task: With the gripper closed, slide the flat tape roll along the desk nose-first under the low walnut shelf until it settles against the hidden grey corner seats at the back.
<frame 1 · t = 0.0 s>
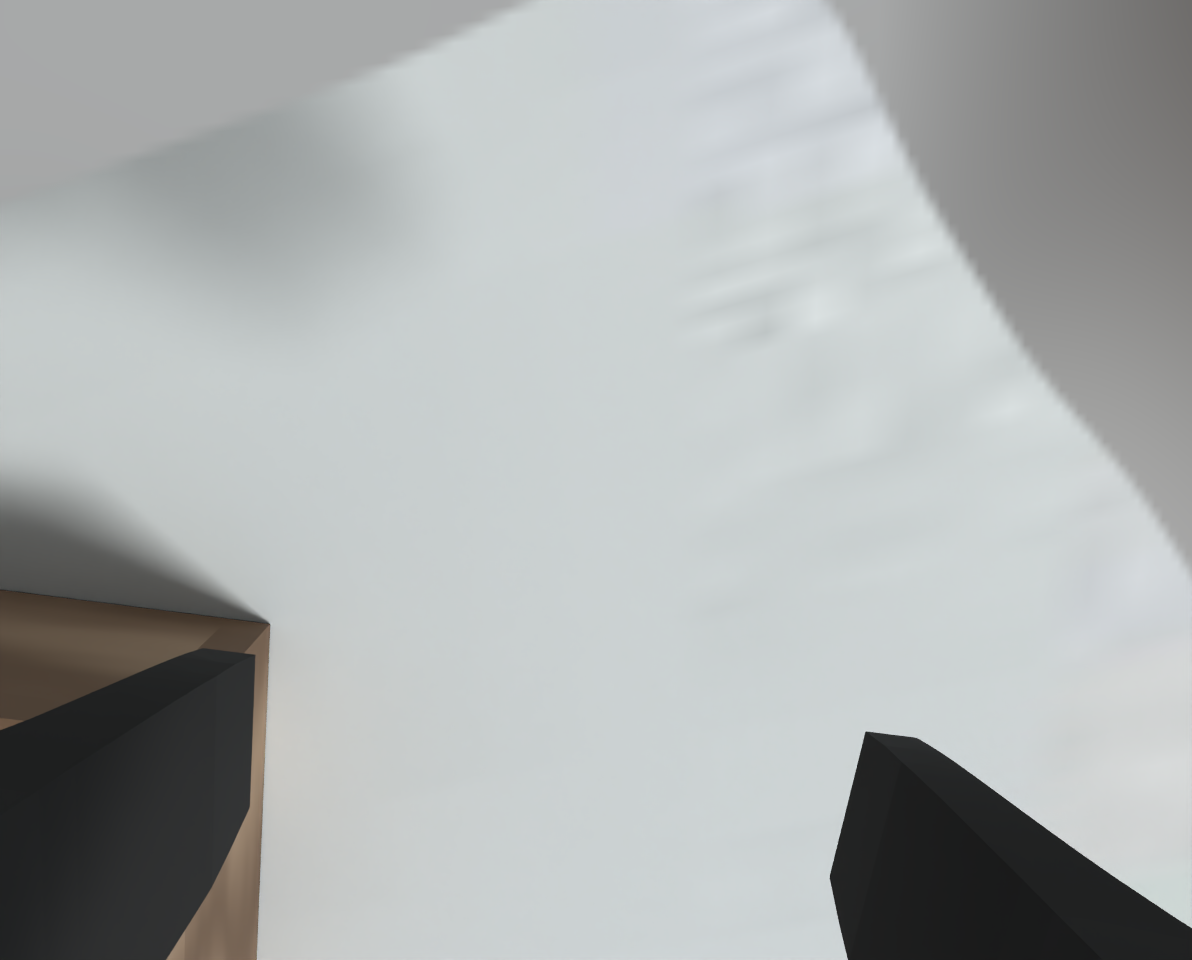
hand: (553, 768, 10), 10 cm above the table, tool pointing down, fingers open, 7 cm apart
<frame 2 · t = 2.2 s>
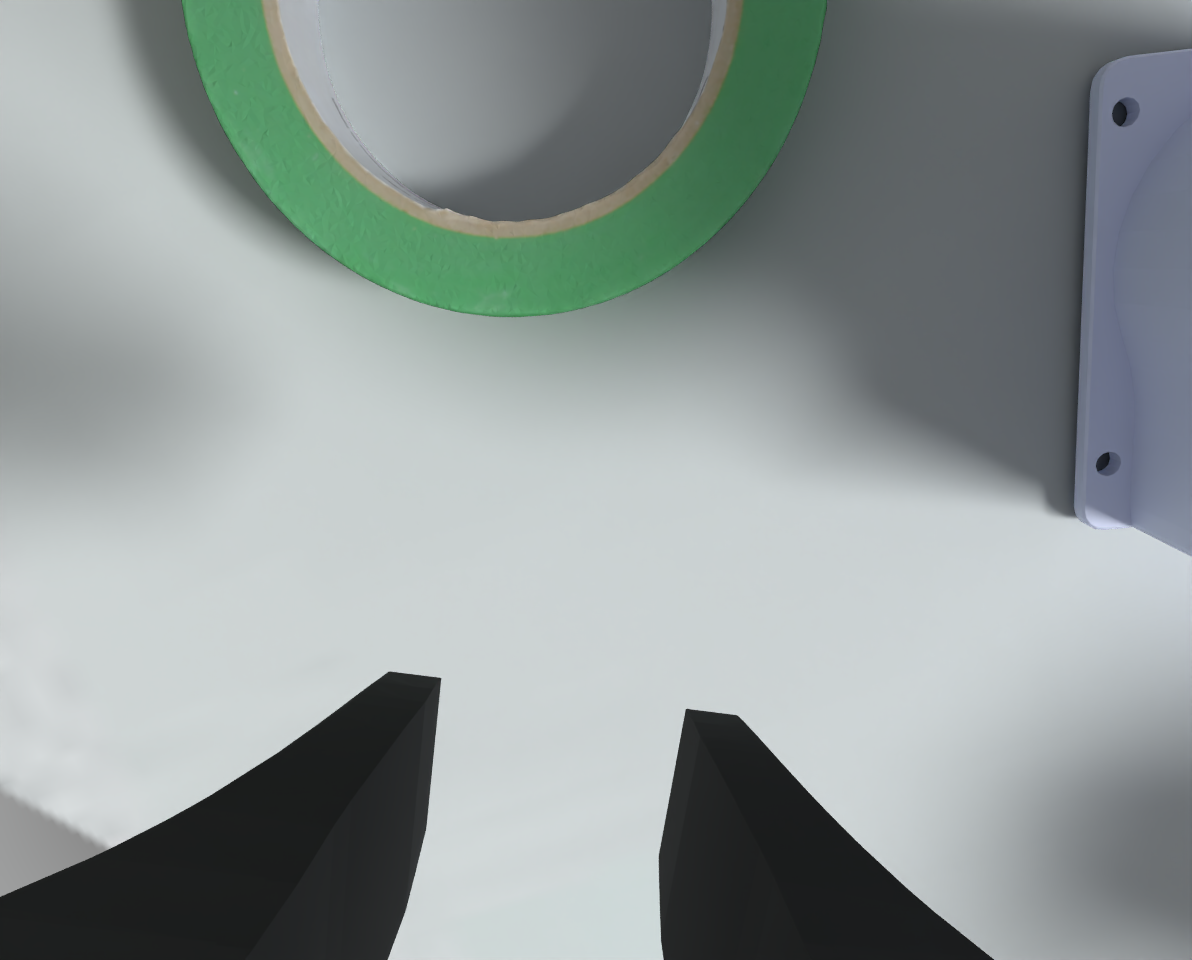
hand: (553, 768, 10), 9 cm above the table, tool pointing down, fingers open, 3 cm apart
tape roll: (517, 28, 17), on the table
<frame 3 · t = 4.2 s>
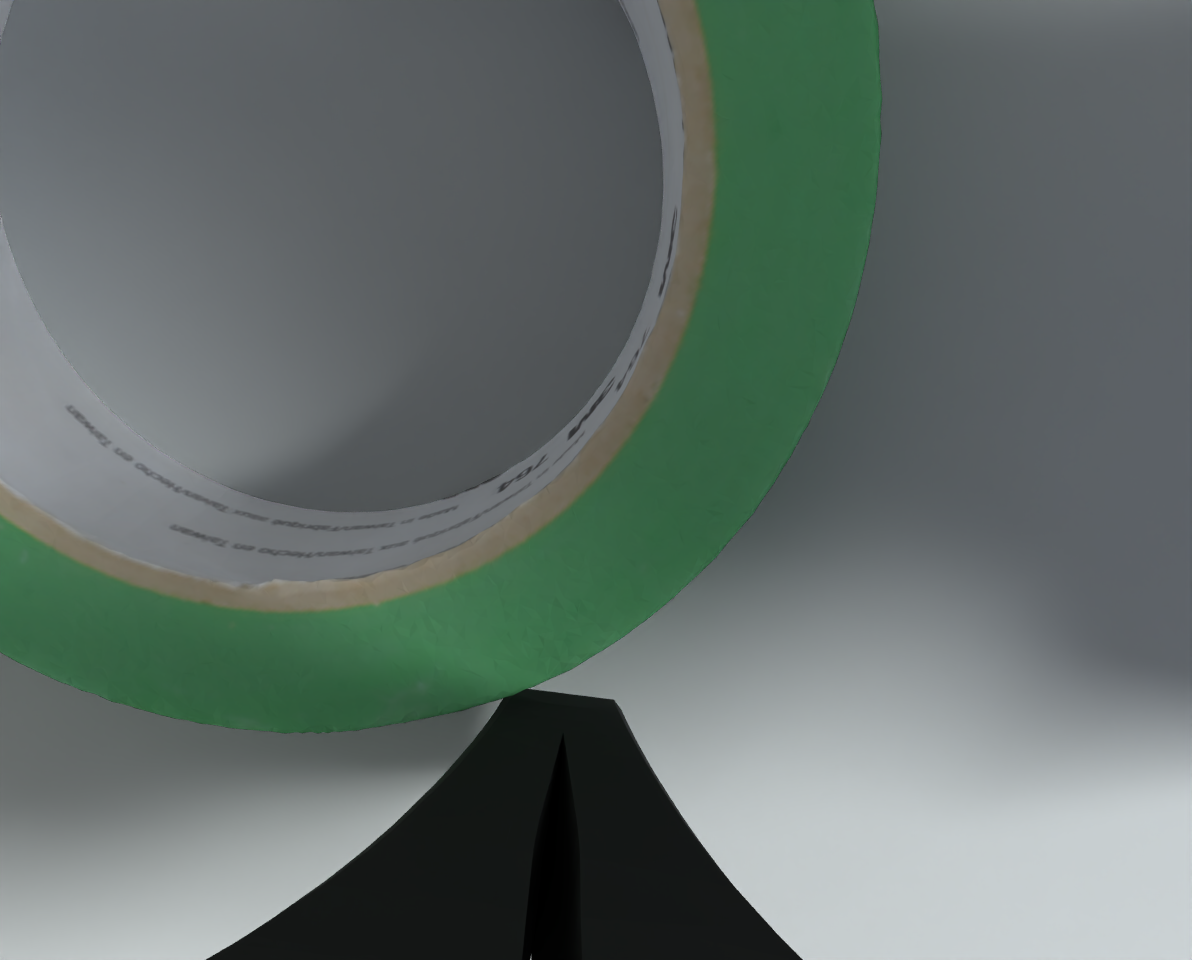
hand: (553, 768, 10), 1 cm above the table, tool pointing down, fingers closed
tape roll: (340, 196, 10), on the table, touching gripper
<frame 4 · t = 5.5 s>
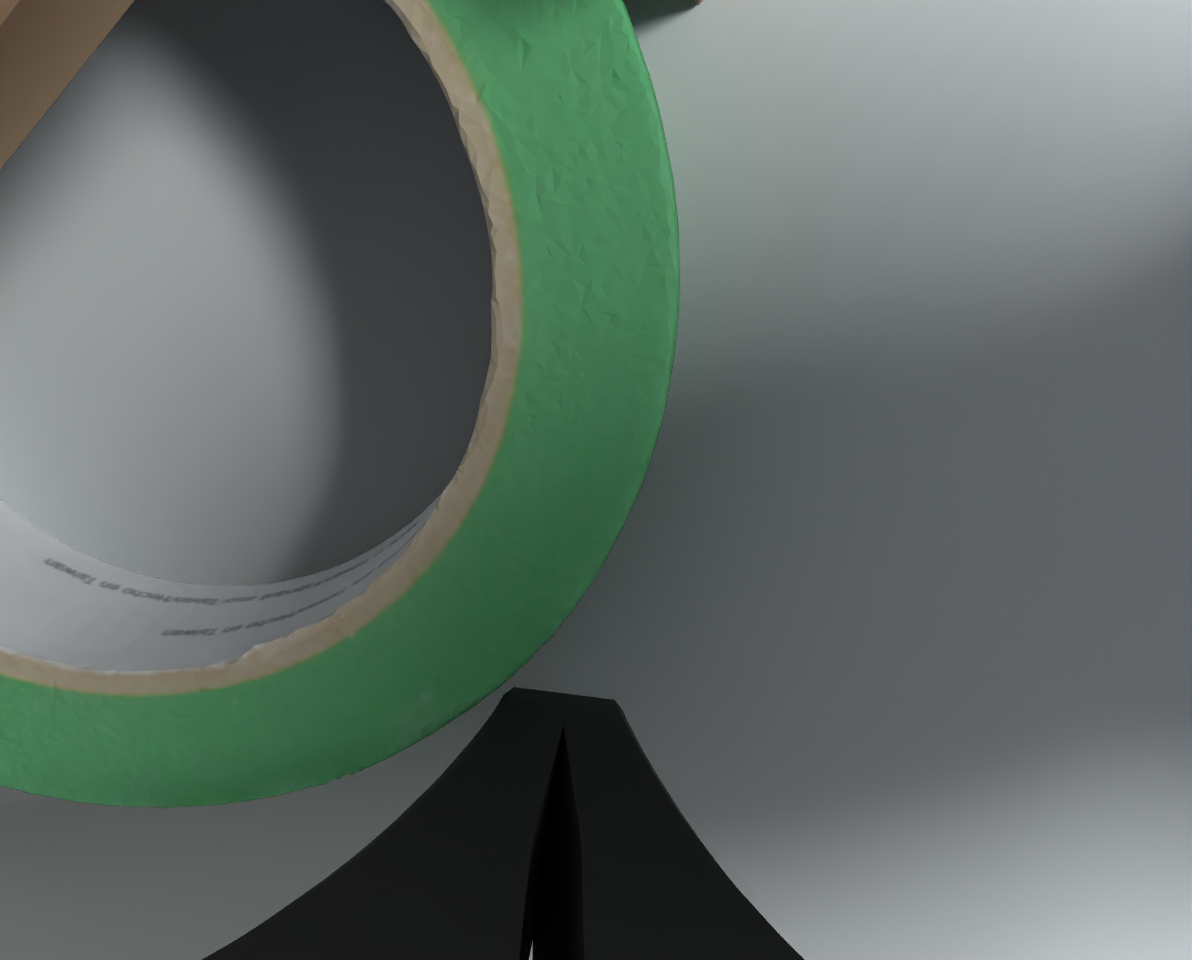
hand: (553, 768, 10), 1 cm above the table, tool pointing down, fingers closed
tape roll: (210, 280, 10), on the table, touching gripper
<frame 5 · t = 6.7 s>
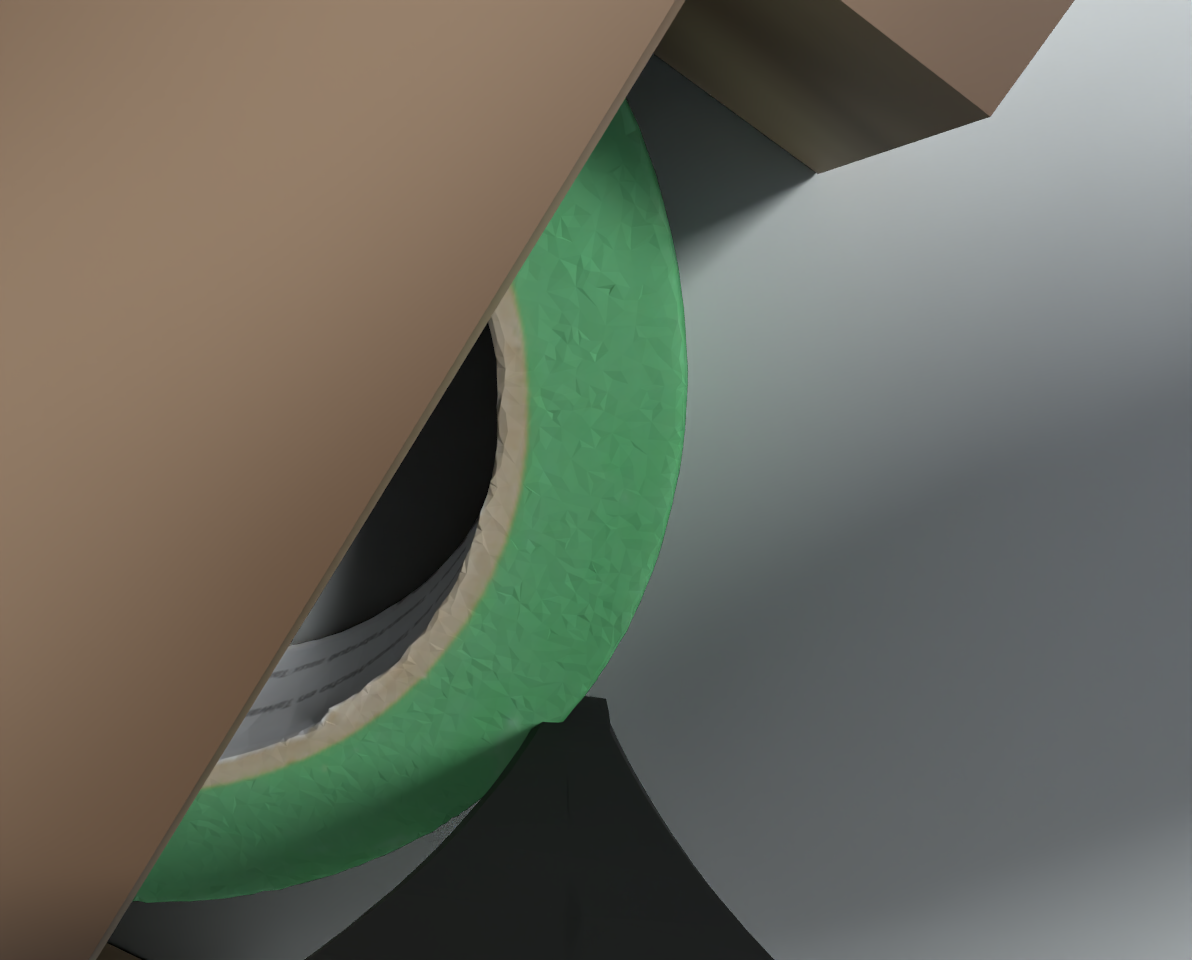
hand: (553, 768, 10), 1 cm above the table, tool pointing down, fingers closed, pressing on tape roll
tape roll: (206, 356, 10), on the table, touching gripper, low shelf
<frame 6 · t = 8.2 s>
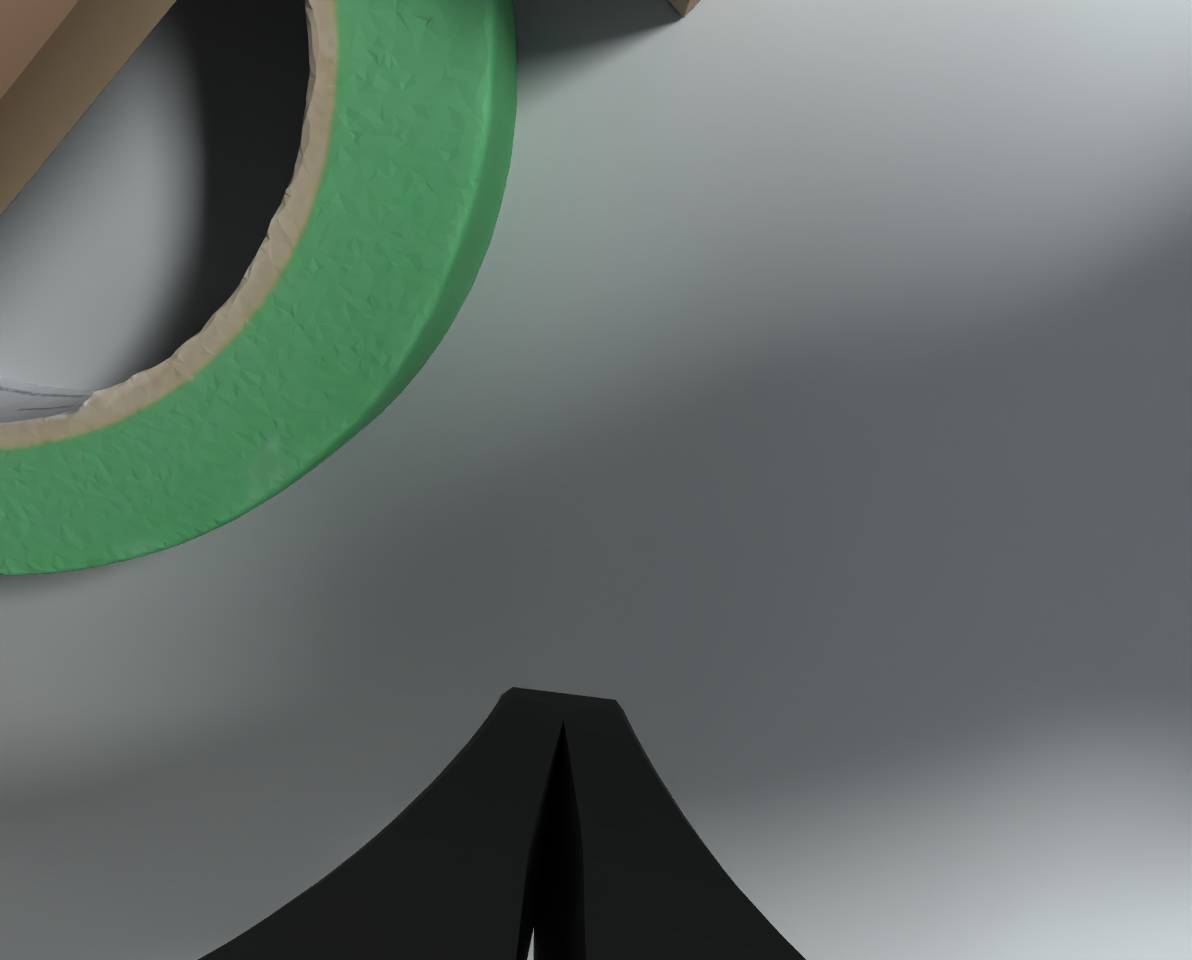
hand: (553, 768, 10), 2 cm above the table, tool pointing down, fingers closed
tape roll: (69, 71, 10), on the table
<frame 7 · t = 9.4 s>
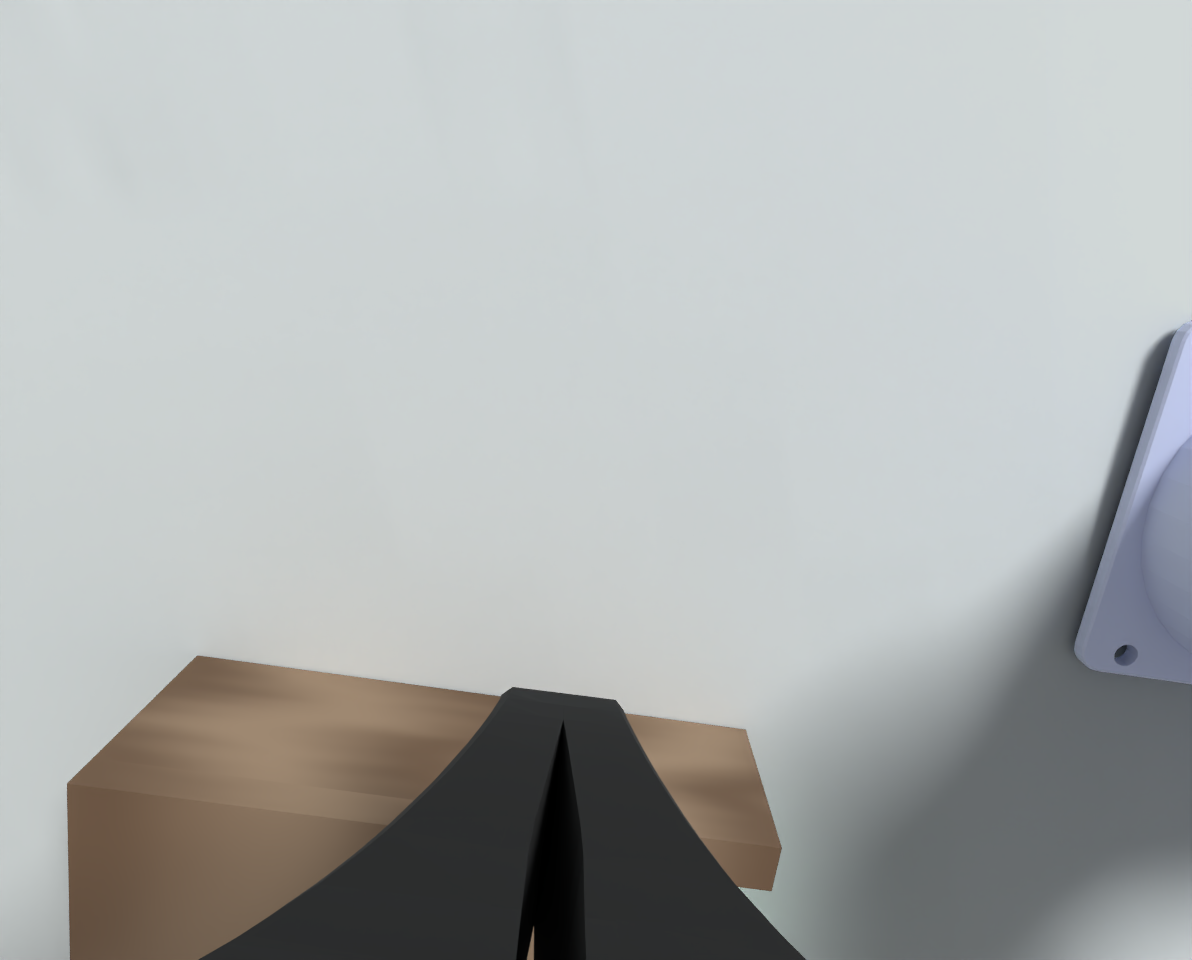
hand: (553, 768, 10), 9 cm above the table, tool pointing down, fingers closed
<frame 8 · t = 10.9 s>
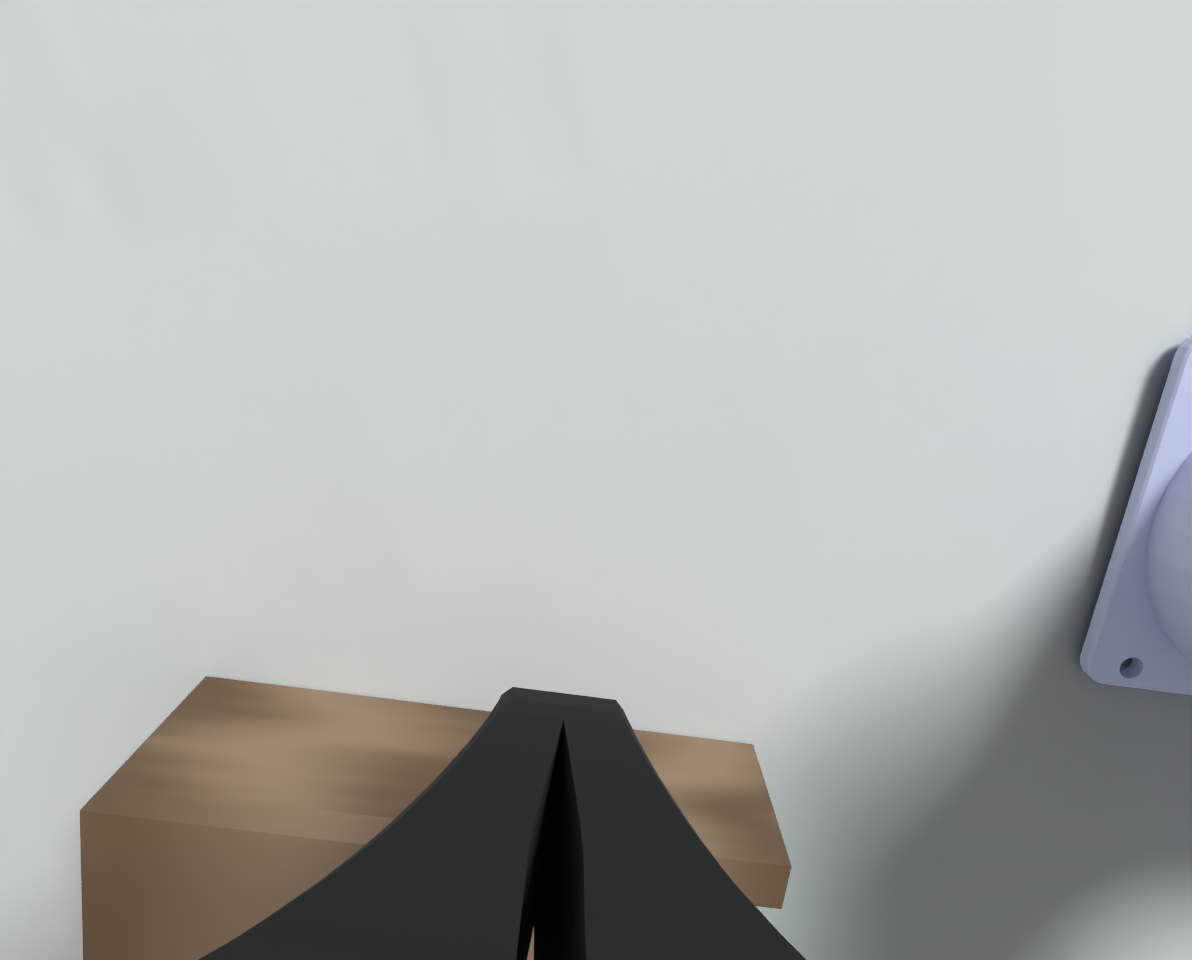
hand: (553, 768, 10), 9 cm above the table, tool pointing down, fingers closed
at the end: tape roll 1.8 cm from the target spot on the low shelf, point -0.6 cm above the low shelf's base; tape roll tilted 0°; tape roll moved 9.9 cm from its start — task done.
